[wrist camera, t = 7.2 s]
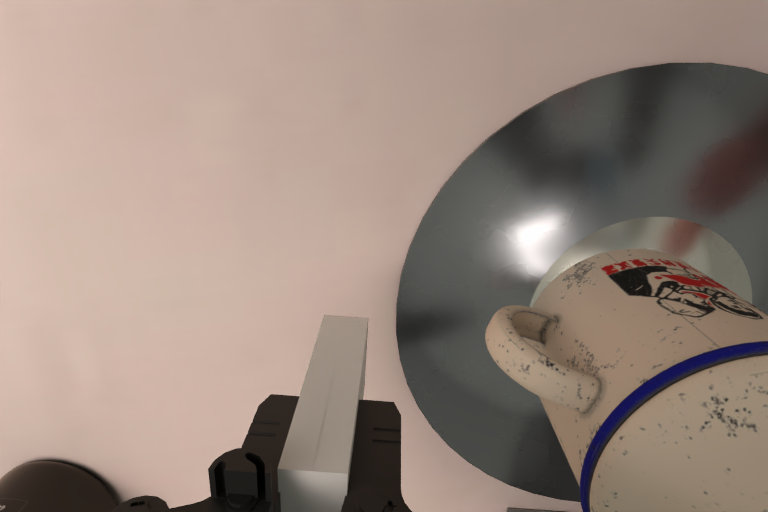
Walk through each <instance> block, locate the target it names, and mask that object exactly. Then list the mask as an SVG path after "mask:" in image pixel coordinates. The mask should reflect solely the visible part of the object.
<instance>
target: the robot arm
mask: <svg viewBox="0 0 768 512" xmlns="http://www.w3.org/2000/svg"><path fill="white" fill-rule="evenodd" d="M367 332H368V318H359V317H345V316H331V315H324V318H323V321H322V324H321V328H320V331H319V334H318V337H317V341H316V344H315V347H314V351H313V354H312V357H311V360H310V364H309V367H308V370H307V374H306V377H305V380H304V383H303V387H302V390H301V393H300V396H287V395H273V394H271V395H270V396H269V397H268V398H267V399H266V400H265V401H264V402H262V403H261V404H260V405H259V407H258V409H257V412H256V414H255V416H254V419H253V423H252V424H251V426H250V428H249V431H248V434H247V436H246V438H245V441H244V443H243V445H242V448H238V449H234V450H231V451H229V452H226V453H224V454H223V455H221V456H220V457H218V458H217V459H216V460H215V461H214V462H213V463H212V465H211V466H210V467H209V469H208V471H209V480H210V490H211V497H209V498H207V499H205V500H203V501H201V502H197V503H194V504H190V505H185V506H180V507H176V508H171V509H169V508H168V506H167V504H166V502H165V501H163V500H162V499H160V498H158V497H155V496H141V497H136V498H132V499H130V500H128V501H126V502H124V503H121V504H119V505H118V506H117V507H116V508H115V509H113V510H112V511H111V512H412V511H411V510H410V509H409V508H408V506H407V505H406V504H405V502H404V500H403V497H402V494H401V415H400V413H399V411H398V409H397V407H396V405H395V404H394V402H384V401H371V400H363V394H364V385H365V368H366V350H367Z"/></svg>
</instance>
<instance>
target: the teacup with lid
mask: <svg viewBox="0 0 768 512" xmlns="http://www.w3.org/2000/svg"><path fill="white" fill-rule="evenodd" d="M522 337H523V338H522ZM485 340H486V345H487V348H488V351H489V353H490V355H491V356H492V358H493V359H494V361H495V362H496V364H497V365H498V366H499V367H500V368H501V369H502V370H503V371H504V372H505V373H506V374H507V375H508V376H510V377H511V378H512V379H513V380H514V381H516V382H517V383H518V384H520V385H521V386H523V387H524V388H526V389H527V390H529V391H531V392H532V393H534V394H536V395H538V396H539V398H540V400H541V402H542V404H543V407H544V409H545V411H546V413H547V415H548V418H549V420H550V422H551V424H552V427H553V429H554V431H555V433H556V435H557V438H558V440H559V442H560V444H561V447H562V449H563V451H564V453H565V455H566V458H567V460H568V462H569V464H570V467H571V469H572V471H573V473H574V475H575V478H576V480H577V482H578V484H579V487H580V499H581V506H582V509H583V512H768V314H766V313H765V312H763V311H762V310H760V309H758V308H757V307H755V306H754V305H752V304H751V303H749V302H747V301H746V300H744V299H743V298H741V297H740V296H738V295H736V294H735V293H733V292H732V291H730V290H729V289H727V288H725V287H724V286H722V285H721V284H719V283H717V282H716V281H714V280H713V279H711V278H710V277H708V276H706V275H705V274H703V273H702V272H700V271H699V270H697V269H695V268H694V267H692V266H691V265H689V264H688V263H686V262H684V261H683V260H681V259H679V258H677V257H674V256H672V255H669V254H666V253H663V252H659V251H655V250H648V249H621V250H613V251H609V252H604V253H601V254H598V255H594V256H592V257H589V258H587V259H584V260H582V261H580V262H578V263H576V264H575V265H573V266H571V267H570V268H568V269H567V270H565V271H564V272H563V273H561V274H560V275H559V276H557V277H556V278H555V279H554V280H553V281H552V282H551V283H550V284H549V285H548V286H547V287H546V288H545V289H544V290H543V292H542V293H541V294H540V296H539V297H538V299H537V300H536V302H535V303H534V305H533V307H532V308H530V307H526V306H521V305H509V306H505V307H502V308H501V309H499V310H498V311H497V312H496V313H495V314H494V315H493V317H492V319H491V321H490V322H489V324H488V326H487V329H486V333H485Z"/></svg>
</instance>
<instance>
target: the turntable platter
mask: <svg viewBox="0 0 768 512" xmlns="http://www.w3.org/2000/svg"><path fill="white" fill-rule="evenodd" d="M621 249H648V250H655V251H659V252H663V253H666V254H669V255H672V256H674V257H677V258H679V259H681V260H683V261H684V262H686V263H688V264H689V265H691V266H692V267H694V268H695V269H697V270H699V271H700V272H702V273H703V274H705V275H706V276H708V277H710V278H711V279H713V280H714V281H716V282H717V283H719V284H721V285H722V286H724V287H725V288H727V289H729V290H730V291H732V292H733V293H735V294H736V295H738V296H740V297H741V298H743V299H744V300H746V301H747V302H749V303H751V304H752V305H754V306H755V307H757V308H758V309H760V310H762V311H763V312H765V313H766V314H768V74H765V73H762V72H758V71H755V70H752V69H748V68H742V67H735V66H728V65H721V64H714V63H667V64H660V65H652V66H645V67H638V68H631V69H627V70H623V71H619V72H616V73H612V74H608V75H605V76H601V77H597V78H594V79H590V80H588V81H586V82H583V83H581V84H578V85H576V86H574V87H571V88H569V89H566V90H564V91H561V92H559V93H557V94H554V95H553V96H551V97H549V98H547V99H545V100H544V101H542V102H540V103H538V104H537V105H535V106H533V107H531V108H530V109H528V110H526V111H524V112H522V113H521V114H519V115H518V116H517V117H515V118H514V119H513V120H511V121H510V122H509V123H507V124H506V125H504V126H503V127H502V128H500V129H499V130H498V131H496V132H495V133H494V134H492V135H491V136H490V137H489V138H488V139H487V140H485V141H484V142H483V143H482V144H481V145H480V146H479V147H478V148H477V149H476V150H475V151H474V152H473V153H472V154H471V155H470V156H469V157H468V158H466V159H465V160H464V161H463V162H462V164H461V165H460V166H459V167H458V169H457V170H456V171H455V172H454V173H453V175H452V176H451V177H450V178H449V179H448V181H447V182H446V183H445V184H444V186H443V187H442V188H441V189H440V191H439V193H438V194H437V196H436V197H435V199H434V201H433V202H432V204H431V205H430V207H429V208H428V210H427V212H426V213H425V215H424V216H423V218H422V221H421V223H420V225H419V227H418V229H417V231H416V234H415V236H414V238H413V240H412V242H411V245H410V247H409V250H408V254H407V257H406V260H405V264H404V267H403V270H402V273H401V278H400V285H399V291H398V298H397V319H396V334H397V341H398V348H399V355H400V361H401V364H402V367H403V371H404V374H405V377H406V381H407V384H408V386H409V388H410V390H411V392H412V394H413V397H414V399H415V401H416V403H417V405H418V407H419V408H420V410H421V411H422V413H423V414H424V416H425V417H426V419H427V420H428V422H429V423H430V425H431V426H432V428H433V429H434V430H435V431H436V432H437V433H438V434H439V436H440V437H441V438H442V439H443V440H444V441H445V442H446V443H447V444H448V445H449V446H450V447H451V448H452V449H453V450H454V451H456V452H457V453H458V454H459V455H460V456H462V457H463V458H464V459H465V460H466V461H468V462H469V463H471V464H472V465H474V466H475V467H477V468H478V469H480V470H482V471H483V472H485V473H486V474H488V475H490V476H492V477H494V478H496V479H498V480H500V481H502V482H504V483H506V484H508V485H511V486H514V487H517V488H519V489H522V490H525V491H528V492H531V493H534V494H538V495H542V496H547V497H551V498H555V499H560V500H569V501H577V502H581V499H580V487H579V484H578V482H577V480H576V478H575V475H574V473H573V471H572V469H571V467H570V464H569V462H568V460H567V458H566V455H565V453H564V451H563V449H562V447H561V444H560V442H559V440H558V438H557V435H556V433H555V431H554V429H553V427H552V424H551V422H550V420H549V418H548V415H547V413H546V411H545V409H544V407H543V404H542V402H541V400H540V398H539V396H538V395H536V394H534V393H532V392H531V391H529V390H527V389H526V388H524V387H523V386H521V385H520V384H518V383H517V382H516V381H514V380H513V379H512V378H511V377H510V376H508V375H507V374H506V373H505V372H504V371H503V370H502V369H501V368H500V367H499V366H498V365H497V364H496V362H495V361H494V359H493V358H492V356H491V355H490V353H489V351H488V348H487V345H486V340H485V333H486V329H487V326H488V324H489V322H490V321H491V319H492V317H493V315H494V314H495V313H496V312H497V311H498V310H499V309H501V308H502V307H505V306H509V305H521V306H526V307H530V308H532V307H533V305H534V303H535V302H536V300H537V299H538V297H539V296H540V294H541V293H542V292H543V290H544V289H545V288H546V287H547V286H548V285H549V284H550V283H551V282H552V281H553V280H554V279H555V278H556V277H557V276H559V275H560V274H561V273H563V272H564V271H565V270H567V269H568V268H570V267H571V266H573V265H575V264H576V263H578V262H580V261H582V260H584V259H587V258H589V257H592V256H594V255H598V254H601V253H604V252H609V251H613V250H621ZM522 338H523V337H522Z"/></svg>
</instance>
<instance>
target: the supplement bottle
mask: <svg viewBox="0 0 768 512" xmlns="http://www.w3.org/2000/svg"><path fill="white" fill-rule="evenodd" d="M115 508H116V504H115V501H114V499H113V497H112V495H111V494H110V492H109V491H108V490H107V488H106V487H105V486H104V485H103V484H102V483H101V482H100V481H99V480H97V479H96V478H95V477H93V476H92V475H91V474H89V473H87V472H86V471H84V470H82V469H80V468H77V467H75V466H72V465H69V464H65V463H61V462H55V461H36V462H31V463H27V464H23V465H21V466H18V467H16V468H14V469H12V470H11V471H9V472H8V473H6V474H5V475H4V476H3V477H2V478H1V479H0V512H111V511H112V510H113V509H115Z"/></svg>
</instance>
